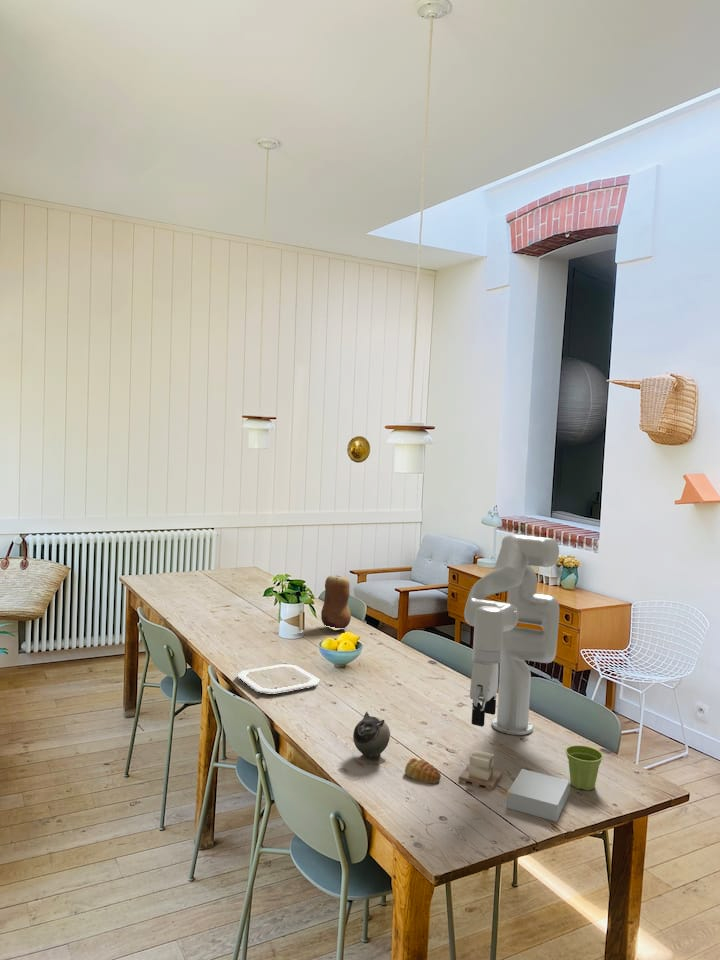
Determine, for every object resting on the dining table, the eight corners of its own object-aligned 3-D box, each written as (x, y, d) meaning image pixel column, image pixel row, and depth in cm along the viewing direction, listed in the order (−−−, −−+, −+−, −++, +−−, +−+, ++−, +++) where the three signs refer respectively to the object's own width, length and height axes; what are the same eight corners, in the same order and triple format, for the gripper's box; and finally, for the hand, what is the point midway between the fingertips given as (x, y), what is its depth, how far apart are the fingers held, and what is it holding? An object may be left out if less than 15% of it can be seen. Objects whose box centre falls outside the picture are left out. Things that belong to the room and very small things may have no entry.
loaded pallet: (470, 768, 193) (471, 745, 193) (502, 776, 189) (503, 753, 189) (458, 781, 185) (460, 758, 185) (492, 791, 181) (493, 766, 181)
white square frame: (325, 688, 250) (325, 682, 250) (262, 700, 236) (262, 694, 236) (291, 667, 271) (291, 662, 271) (231, 678, 257) (231, 672, 257)
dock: (521, 783, 185) (522, 768, 185) (568, 796, 180) (569, 780, 180) (506, 807, 173) (507, 791, 173) (556, 821, 167) (557, 805, 167)
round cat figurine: (345, 761, 194) (379, 770, 189) (346, 718, 194) (380, 726, 189) (363, 748, 203) (396, 756, 198) (364, 706, 203) (396, 714, 198)
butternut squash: (353, 627, 330) (356, 574, 328) (345, 635, 317) (347, 579, 315) (325, 624, 334) (327, 571, 332) (316, 631, 321) (318, 576, 319)
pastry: (445, 778, 187) (446, 764, 187) (432, 788, 182) (433, 773, 181) (415, 767, 193) (416, 753, 192) (401, 776, 187) (402, 762, 187)
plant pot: (580, 796, 180) (582, 763, 179) (556, 779, 188) (558, 747, 188) (609, 790, 184) (611, 758, 183) (584, 774, 192) (585, 743, 192)
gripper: (483, 644, 194) (479, 706, 195) (462, 660, 179) (458, 726, 180) (510, 649, 191) (506, 712, 192) (491, 665, 176) (487, 733, 176)
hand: (483, 719), depth 186 cm, fingers open, 9 cm apart
